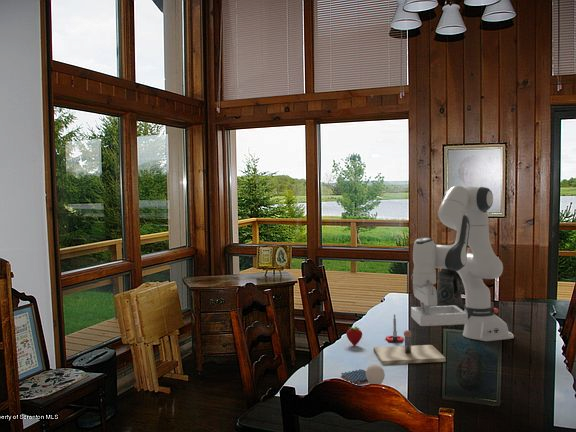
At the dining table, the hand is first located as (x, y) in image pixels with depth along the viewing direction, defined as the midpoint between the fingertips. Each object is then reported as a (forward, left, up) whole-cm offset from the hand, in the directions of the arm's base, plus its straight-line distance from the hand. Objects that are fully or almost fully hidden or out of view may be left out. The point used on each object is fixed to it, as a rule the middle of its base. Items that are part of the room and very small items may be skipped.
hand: (425, 312), depth 206 cm
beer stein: (-41, -89, -21) cm, 101 cm away
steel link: (-3, +6, -2) cm, 7 cm away
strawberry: (+25, -29, -21) cm, 44 cm away
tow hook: (+5, -35, -21) cm, 42 cm away
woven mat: (+30, +12, -22) cm, 39 cm away
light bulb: (+27, +29, -21) cm, 44 cm away
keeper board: (+5, -11, -21) cm, 24 cm away
